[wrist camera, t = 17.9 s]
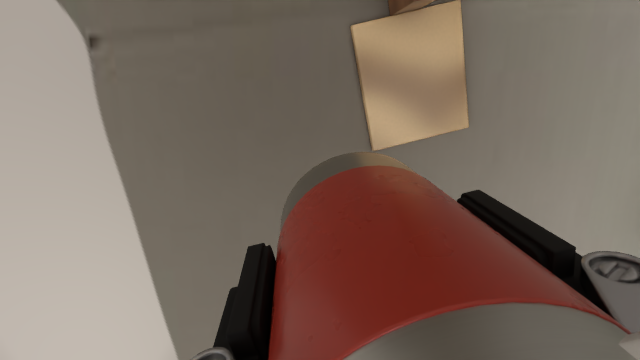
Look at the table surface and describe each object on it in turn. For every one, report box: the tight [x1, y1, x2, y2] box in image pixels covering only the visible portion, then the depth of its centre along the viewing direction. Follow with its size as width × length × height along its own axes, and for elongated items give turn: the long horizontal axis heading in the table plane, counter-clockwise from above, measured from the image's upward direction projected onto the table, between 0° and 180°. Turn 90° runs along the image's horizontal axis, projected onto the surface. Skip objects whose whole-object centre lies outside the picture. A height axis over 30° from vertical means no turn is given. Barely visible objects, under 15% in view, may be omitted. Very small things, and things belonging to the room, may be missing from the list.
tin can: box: [268, 152, 637, 360], centre depth 8 cm, size 7×7×11 cm
